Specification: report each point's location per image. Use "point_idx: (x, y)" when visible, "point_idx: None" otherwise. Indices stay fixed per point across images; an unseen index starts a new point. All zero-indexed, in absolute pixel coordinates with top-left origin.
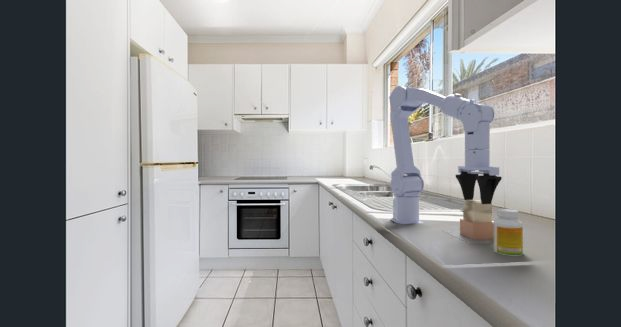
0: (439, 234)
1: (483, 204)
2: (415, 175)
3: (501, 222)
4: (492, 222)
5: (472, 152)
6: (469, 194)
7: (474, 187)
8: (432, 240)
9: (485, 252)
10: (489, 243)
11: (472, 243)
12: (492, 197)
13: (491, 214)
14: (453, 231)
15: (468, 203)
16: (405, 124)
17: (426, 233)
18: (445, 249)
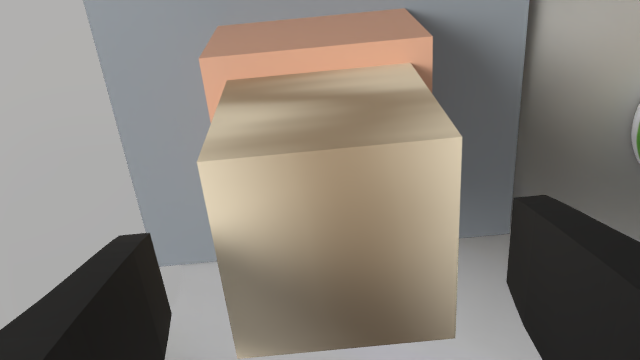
0: (203, 283)
1: (455, 231)
2: None
3: None
4: (418, 61)
5: None
6: (138, 321)
7: (68, 331)
8: (349, 357)
9: (622, 206)
10: (517, 124)
11: (500, 223)
12: (602, 228)
13: (425, 90)
14: (173, 204)
15: (345, 334)
16: None
17: (179, 341)
18: (524, 353)
